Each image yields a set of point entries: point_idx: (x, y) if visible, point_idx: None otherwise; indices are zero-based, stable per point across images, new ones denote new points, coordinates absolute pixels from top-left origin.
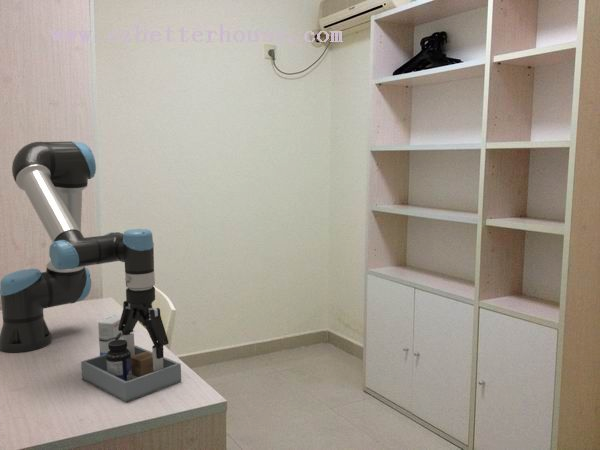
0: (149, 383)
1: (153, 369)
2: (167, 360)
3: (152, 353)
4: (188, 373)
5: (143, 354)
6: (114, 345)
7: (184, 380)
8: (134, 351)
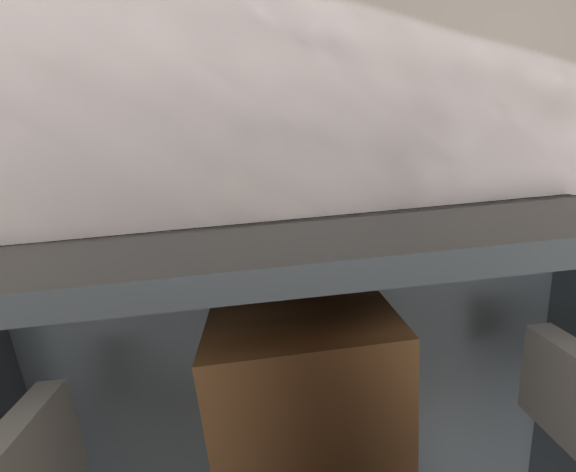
0: None
1: (526, 408)
2: (555, 269)
3: (246, 292)
4: (501, 64)
5: (265, 424)
6: None
7: (569, 165)
8: (35, 415)
